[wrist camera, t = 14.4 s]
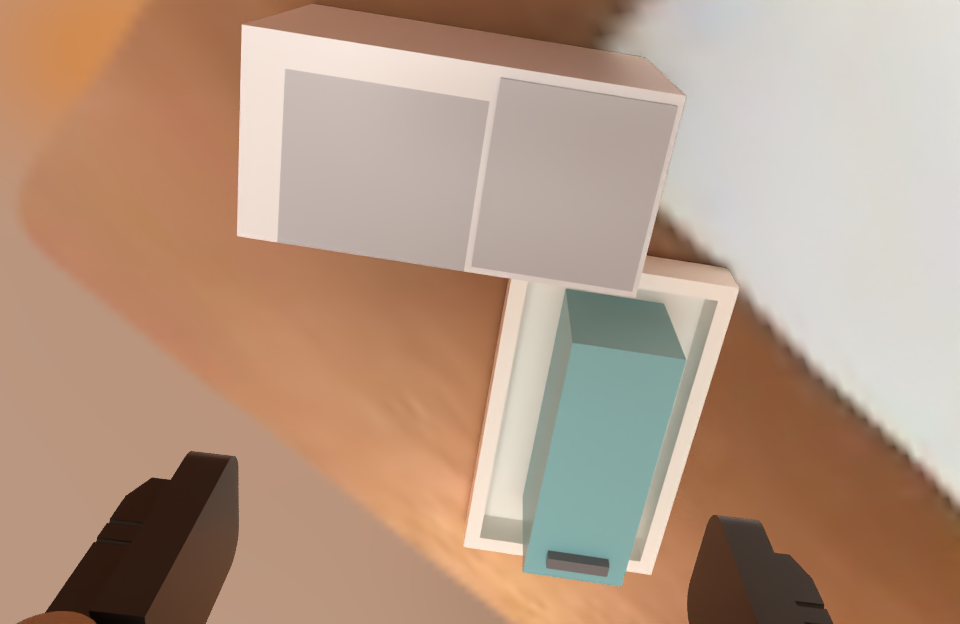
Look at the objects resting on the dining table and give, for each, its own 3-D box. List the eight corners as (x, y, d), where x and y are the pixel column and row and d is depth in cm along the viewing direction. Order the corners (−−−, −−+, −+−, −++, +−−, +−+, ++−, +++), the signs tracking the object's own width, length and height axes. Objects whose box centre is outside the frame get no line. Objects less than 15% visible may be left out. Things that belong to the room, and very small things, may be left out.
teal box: (664, 303, 40) (688, 366, 34) (609, 510, 46) (622, 595, 40) (565, 288, 40) (573, 348, 34) (522, 497, 46) (522, 580, 40)
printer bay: (645, 57, 36) (688, 97, 27) (609, 215, 39) (636, 301, 30) (312, 3, 36) (239, 25, 27) (303, 167, 39) (234, 238, 30)
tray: (726, 267, 40) (739, 288, 38) (644, 543, 48) (651, 574, 45) (516, 234, 40) (515, 253, 38) (466, 516, 47) (463, 546, 45)
